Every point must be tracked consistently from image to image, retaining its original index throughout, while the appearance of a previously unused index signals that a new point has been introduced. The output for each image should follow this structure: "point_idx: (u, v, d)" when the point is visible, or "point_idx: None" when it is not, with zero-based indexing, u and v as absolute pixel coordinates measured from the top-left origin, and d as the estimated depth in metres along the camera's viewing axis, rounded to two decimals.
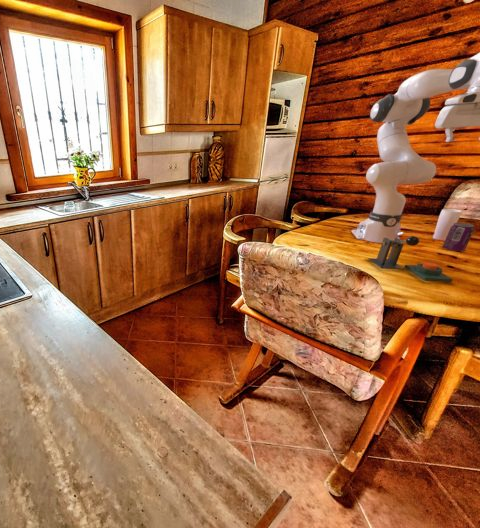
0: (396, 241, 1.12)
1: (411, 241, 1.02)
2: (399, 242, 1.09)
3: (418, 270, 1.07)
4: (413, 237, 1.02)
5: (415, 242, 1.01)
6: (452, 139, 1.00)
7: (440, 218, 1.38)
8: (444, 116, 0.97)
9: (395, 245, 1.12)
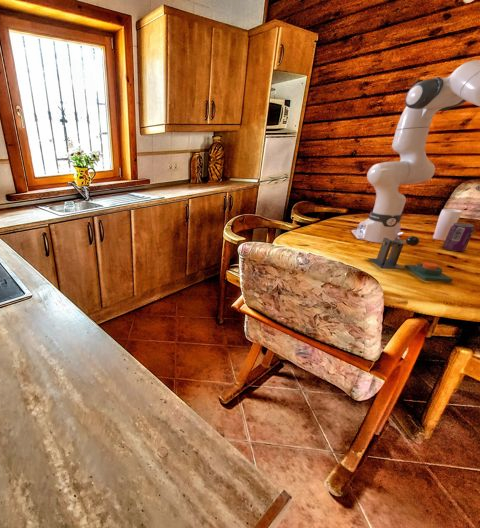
0: (396, 241, 1.12)
1: (411, 241, 1.02)
2: (399, 242, 1.09)
3: (418, 270, 1.07)
4: (413, 237, 1.02)
5: (415, 242, 1.01)
6: None
7: (440, 218, 1.38)
8: None
9: (395, 245, 1.12)
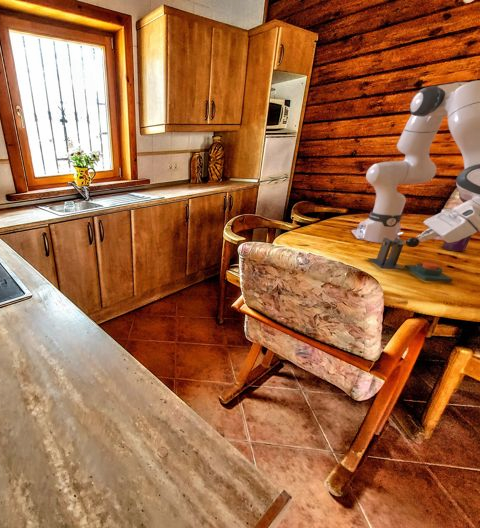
0: (396, 241, 1.12)
1: (411, 243, 1.02)
2: (399, 243, 1.09)
3: (418, 270, 1.07)
4: (413, 239, 1.02)
5: (415, 244, 1.01)
6: None
7: None
8: (463, 236, 0.89)
9: (395, 245, 1.12)
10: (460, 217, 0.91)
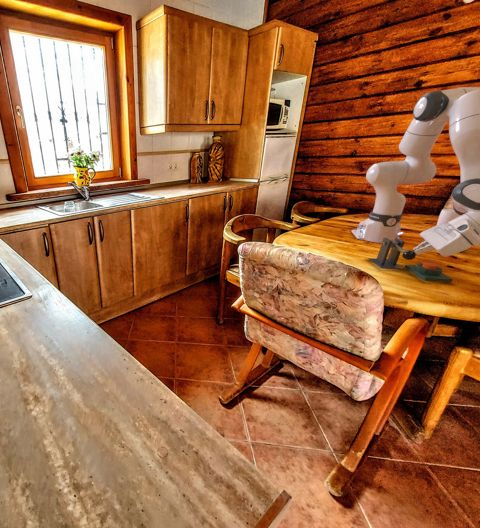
0: (396, 243, 1.12)
1: (407, 257, 1.04)
2: (398, 248, 1.09)
3: (418, 270, 1.07)
4: (410, 253, 1.03)
5: (410, 258, 1.03)
6: None
7: (440, 218, 1.38)
8: (458, 250, 0.90)
9: None
10: (455, 231, 0.92)
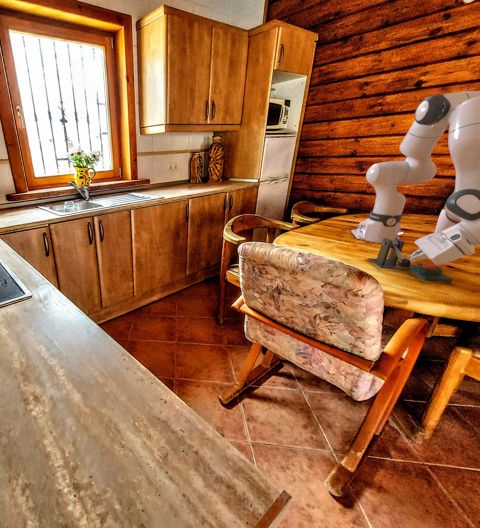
0: (396, 244, 1.12)
1: (401, 266, 1.06)
2: (396, 252, 1.10)
3: (418, 270, 1.07)
4: (405, 263, 1.05)
5: (404, 267, 1.06)
6: None
7: (440, 218, 1.38)
8: (450, 259, 0.93)
9: None
10: (448, 241, 0.94)
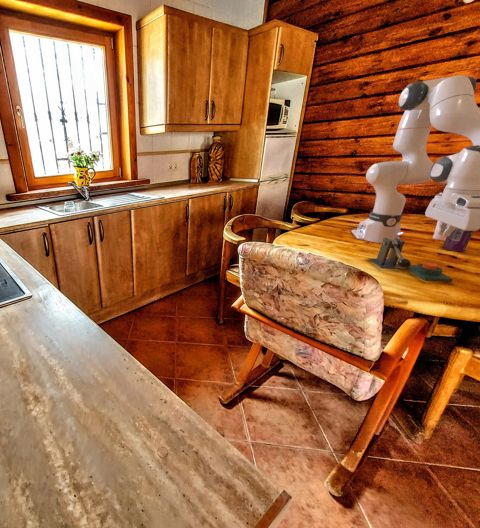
0: (396, 244, 1.12)
1: (401, 266, 1.06)
2: (396, 252, 1.11)
3: (418, 270, 1.07)
4: (405, 263, 1.05)
5: (404, 267, 1.06)
6: None
7: None
8: None
9: None
10: (459, 207, 0.92)
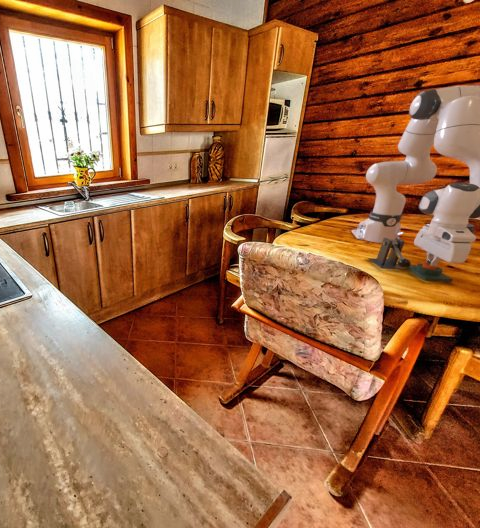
0: (396, 244, 1.12)
1: (401, 266, 1.06)
2: (396, 252, 1.11)
3: (418, 270, 1.07)
4: (405, 263, 1.05)
5: (404, 267, 1.06)
6: None
7: None
8: (466, 254, 0.93)
9: None
10: (444, 240, 0.97)
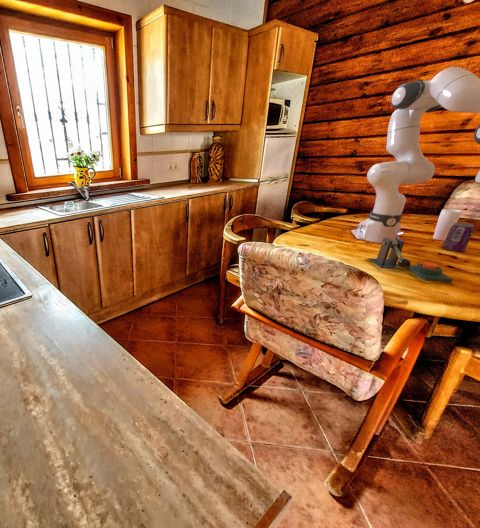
0: (396, 244, 1.12)
1: (401, 266, 1.06)
2: (396, 252, 1.11)
3: (418, 270, 1.07)
4: (405, 263, 1.05)
5: (404, 267, 1.06)
6: None
7: (440, 218, 1.38)
8: None
9: None
10: None
